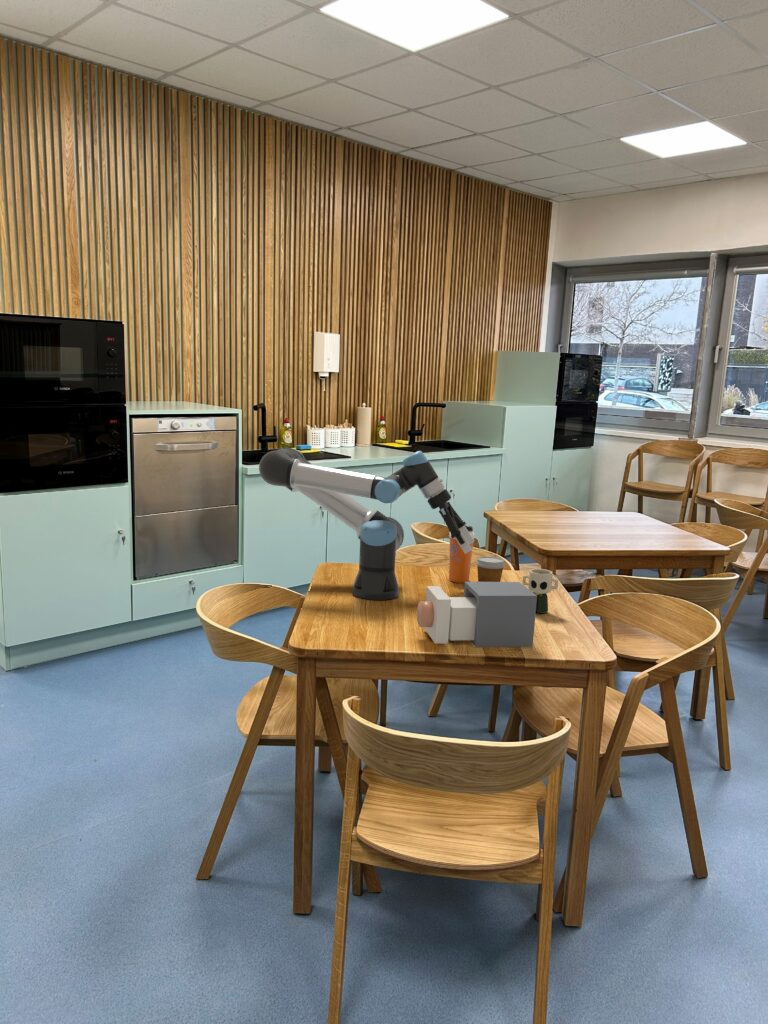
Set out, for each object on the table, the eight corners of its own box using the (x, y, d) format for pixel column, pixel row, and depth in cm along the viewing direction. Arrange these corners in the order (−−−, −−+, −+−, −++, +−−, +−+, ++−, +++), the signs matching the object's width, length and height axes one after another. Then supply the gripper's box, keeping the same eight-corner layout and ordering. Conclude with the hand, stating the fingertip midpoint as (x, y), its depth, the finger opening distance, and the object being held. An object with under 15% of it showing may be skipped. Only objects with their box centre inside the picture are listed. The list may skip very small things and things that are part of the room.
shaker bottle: (457, 575, 275) (460, 522, 272) (476, 581, 269) (480, 526, 266) (441, 579, 269) (444, 524, 266) (460, 584, 263) (464, 528, 259)
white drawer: (423, 643, 198) (426, 599, 196) (413, 627, 210) (416, 586, 208) (500, 642, 202) (503, 599, 200) (485, 627, 214) (488, 586, 212)
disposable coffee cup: (501, 591, 257) (504, 557, 255) (503, 599, 248) (506, 563, 246) (473, 589, 258) (476, 555, 256) (474, 597, 248) (476, 561, 246)
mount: (475, 647, 200) (479, 595, 198) (461, 630, 214) (464, 581, 211) (532, 646, 203) (537, 595, 200) (514, 629, 216) (518, 581, 214)
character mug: (518, 612, 234) (521, 571, 232) (522, 606, 241) (525, 566, 238) (553, 617, 230) (557, 576, 228) (556, 611, 237) (560, 571, 235)
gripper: (441, 493, 238) (477, 549, 239) (448, 483, 262) (481, 534, 263) (421, 505, 239) (457, 561, 240) (430, 494, 264) (463, 545, 265)
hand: (470, 547), depth 252 cm, fingers open, 13 cm apart
